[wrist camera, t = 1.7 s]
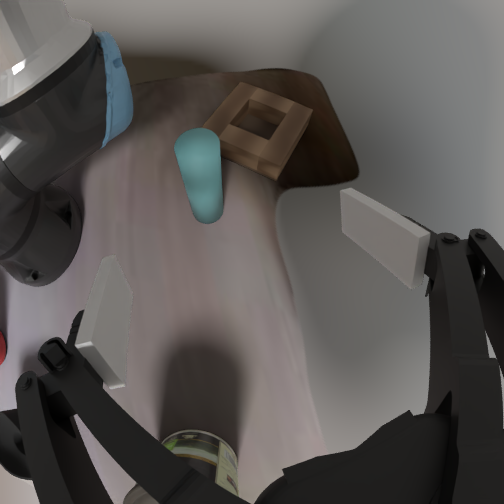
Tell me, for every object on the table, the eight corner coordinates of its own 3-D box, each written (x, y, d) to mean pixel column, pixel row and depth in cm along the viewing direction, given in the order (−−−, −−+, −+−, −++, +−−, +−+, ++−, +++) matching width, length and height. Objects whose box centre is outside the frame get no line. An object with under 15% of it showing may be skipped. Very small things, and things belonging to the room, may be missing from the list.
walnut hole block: (200, 147, 40) (198, 130, 36) (240, 98, 43) (241, 81, 39) (276, 181, 39) (280, 166, 35) (307, 126, 42) (313, 109, 38)
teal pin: (187, 215, 37) (165, 153, 23) (202, 190, 38) (190, 122, 24) (213, 228, 36) (204, 170, 23) (228, 203, 37) (228, 137, 24)
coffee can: (142, 460, 27) (102, 513, 14) (190, 413, 30) (165, 460, 16) (204, 504, 26) (194, 569, 13) (255, 461, 29) (268, 523, 15)
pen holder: (31, 389, 28) (-13, 397, 19) (79, 425, 28) (40, 445, 18) (23, 435, 26) (-15, 450, 16) (69, 470, 25) (35, 495, 16)
